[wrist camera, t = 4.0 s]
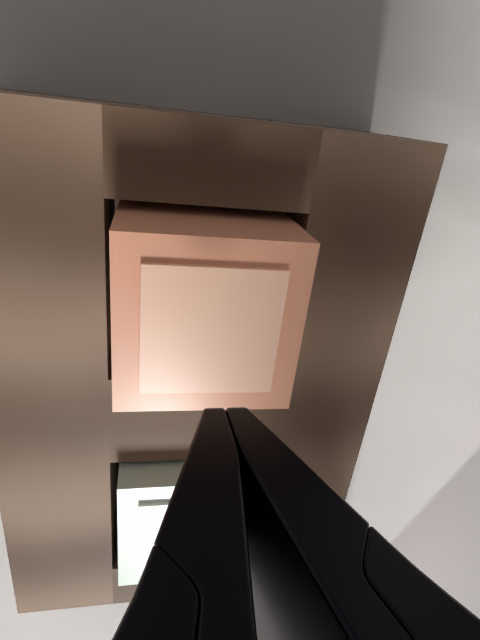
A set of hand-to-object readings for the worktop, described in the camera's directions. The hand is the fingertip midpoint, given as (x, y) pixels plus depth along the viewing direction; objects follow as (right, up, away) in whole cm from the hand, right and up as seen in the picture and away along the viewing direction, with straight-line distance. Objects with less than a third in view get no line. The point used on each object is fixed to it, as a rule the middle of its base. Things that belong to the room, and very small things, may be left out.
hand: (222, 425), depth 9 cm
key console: (-2, +1, +11) cm, 11 cm away
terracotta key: (-1, +3, +6) cm, 7 cm away
